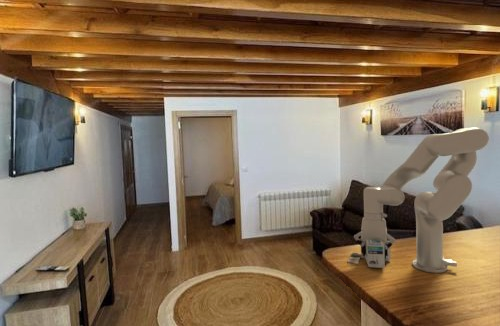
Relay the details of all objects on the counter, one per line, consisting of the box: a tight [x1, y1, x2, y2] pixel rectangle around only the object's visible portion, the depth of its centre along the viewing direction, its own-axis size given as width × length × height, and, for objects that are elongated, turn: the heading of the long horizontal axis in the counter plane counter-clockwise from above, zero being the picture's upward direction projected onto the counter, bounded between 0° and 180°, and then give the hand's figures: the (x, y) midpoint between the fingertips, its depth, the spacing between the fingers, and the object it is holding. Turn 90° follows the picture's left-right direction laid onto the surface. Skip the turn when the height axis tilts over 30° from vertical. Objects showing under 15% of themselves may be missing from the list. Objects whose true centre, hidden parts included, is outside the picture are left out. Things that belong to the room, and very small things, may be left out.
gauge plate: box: [350, 238, 391, 262], centre depth 136 cm, size 16×1×9 cm, turn 63°
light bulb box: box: [364, 240, 386, 269], centre depth 130 cm, size 11×7×11 cm, turn 167°
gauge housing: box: [347, 238, 391, 265], centre depth 136 cm, size 17×12×10 cm
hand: (374, 255), depth 130 cm, fingers closed on light bulb box, 7 cm apart
